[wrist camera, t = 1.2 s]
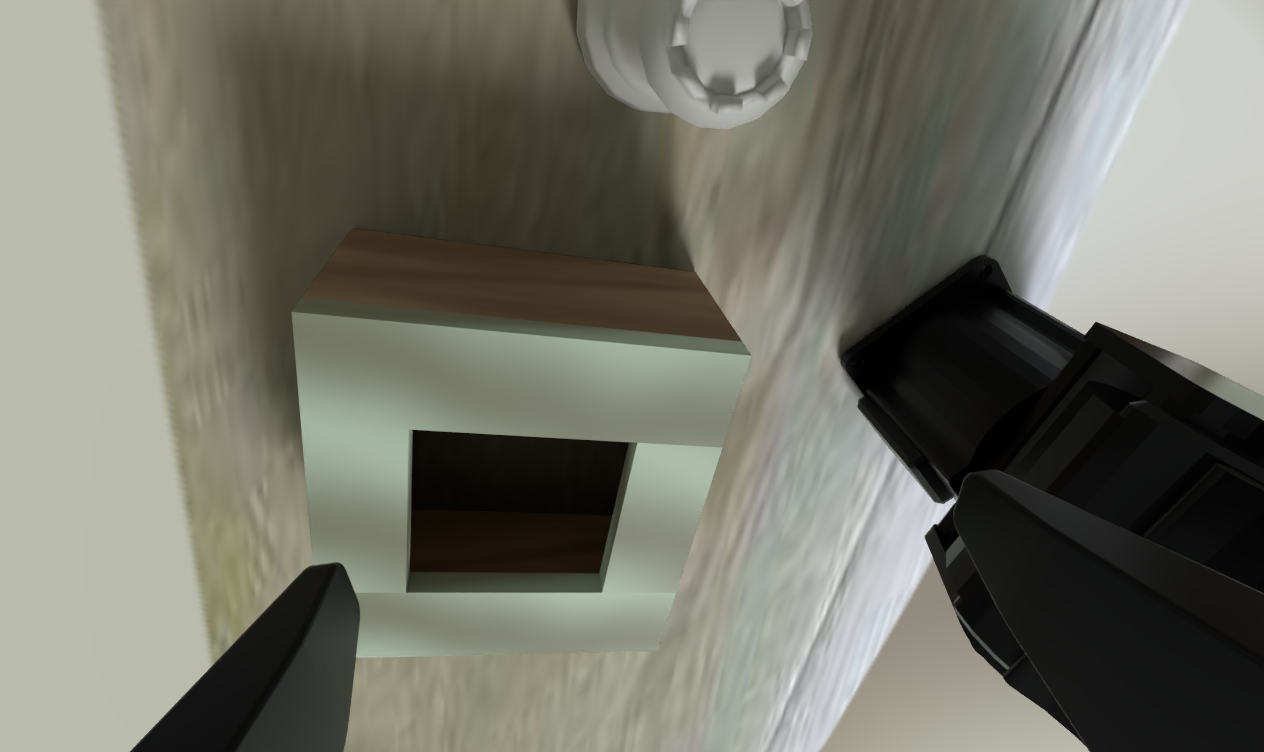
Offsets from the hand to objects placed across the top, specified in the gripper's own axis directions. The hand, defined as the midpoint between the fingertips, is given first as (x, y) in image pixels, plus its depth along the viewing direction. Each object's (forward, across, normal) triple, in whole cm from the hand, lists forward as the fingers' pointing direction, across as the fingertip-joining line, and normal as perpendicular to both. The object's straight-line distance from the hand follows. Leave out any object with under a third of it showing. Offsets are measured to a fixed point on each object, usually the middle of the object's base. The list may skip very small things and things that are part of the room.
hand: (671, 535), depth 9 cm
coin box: (+13, +3, +6) cm, 15 cm away
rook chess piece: (+14, -2, -6) cm, 15 cm away
